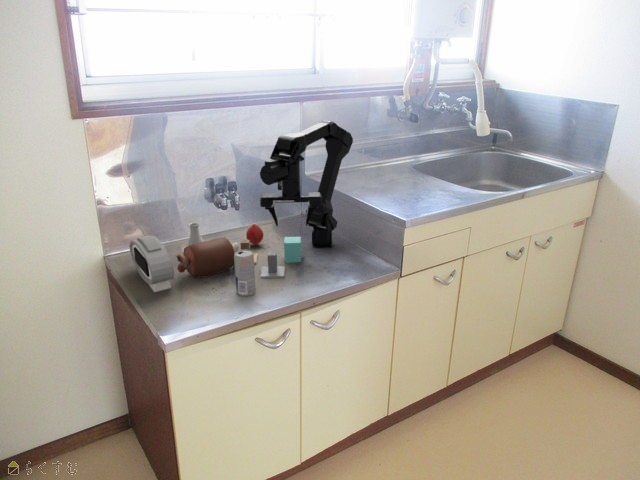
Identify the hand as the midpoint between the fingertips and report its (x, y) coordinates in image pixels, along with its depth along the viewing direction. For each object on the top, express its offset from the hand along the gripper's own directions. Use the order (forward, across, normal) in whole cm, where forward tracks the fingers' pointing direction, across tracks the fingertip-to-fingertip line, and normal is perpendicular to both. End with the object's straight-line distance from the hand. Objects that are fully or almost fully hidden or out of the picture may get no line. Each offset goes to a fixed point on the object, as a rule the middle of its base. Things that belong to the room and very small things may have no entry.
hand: (292, 225), depth 164 cm
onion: (+12, +13, -12) cm, 21 cm away
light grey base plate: (+11, +6, +10) cm, 16 cm away
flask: (+12, +32, -7) cm, 35 cm away
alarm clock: (+12, +41, +13) cm, 45 cm away
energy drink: (+12, +13, +22) cm, 28 cm away
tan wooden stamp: (+11, +15, 0) cm, 19 cm away
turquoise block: (+11, 0, 0) cm, 11 cm away
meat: (+12, +25, +9) cm, 29 cm away
